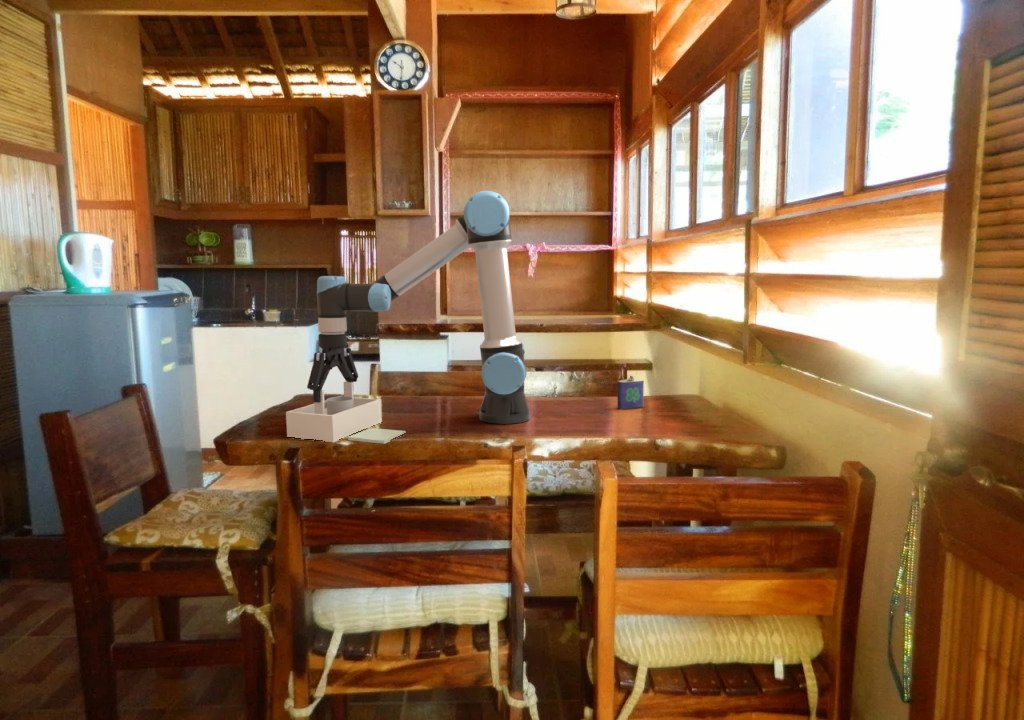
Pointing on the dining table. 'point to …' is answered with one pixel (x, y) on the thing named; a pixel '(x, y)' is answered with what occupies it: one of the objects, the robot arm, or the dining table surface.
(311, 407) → the crate
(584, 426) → the dining table surface
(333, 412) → the cup
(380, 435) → the tile
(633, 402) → the flask
